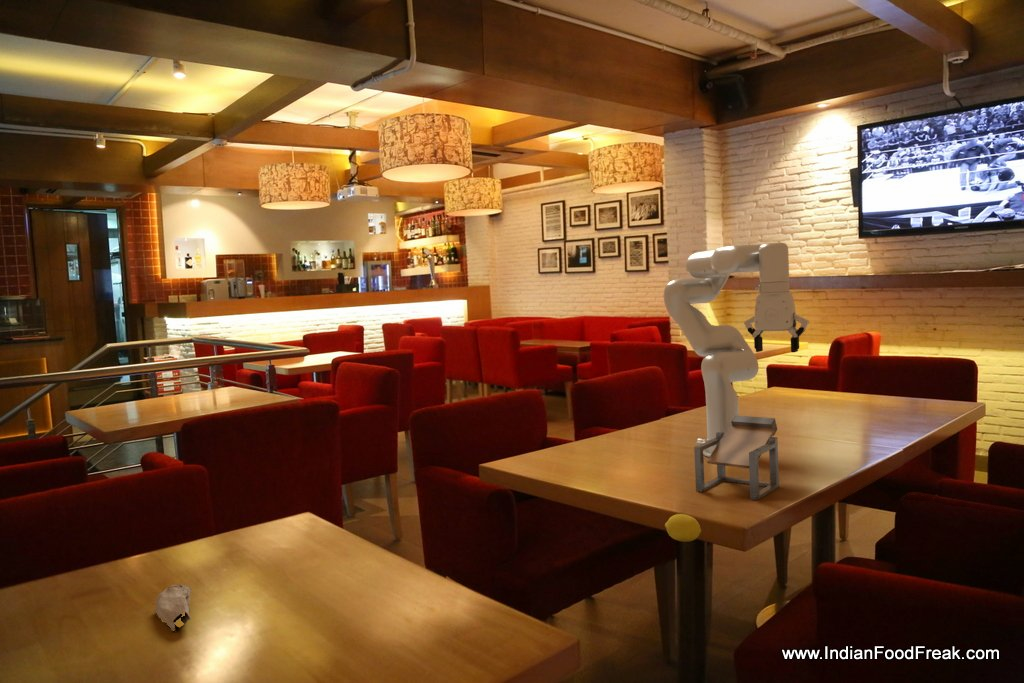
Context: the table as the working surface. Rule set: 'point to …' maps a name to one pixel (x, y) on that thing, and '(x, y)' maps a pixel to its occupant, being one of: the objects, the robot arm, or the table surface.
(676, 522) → the lemon
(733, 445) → the trapdoor
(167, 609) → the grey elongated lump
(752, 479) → the frame
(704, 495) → the table surface
